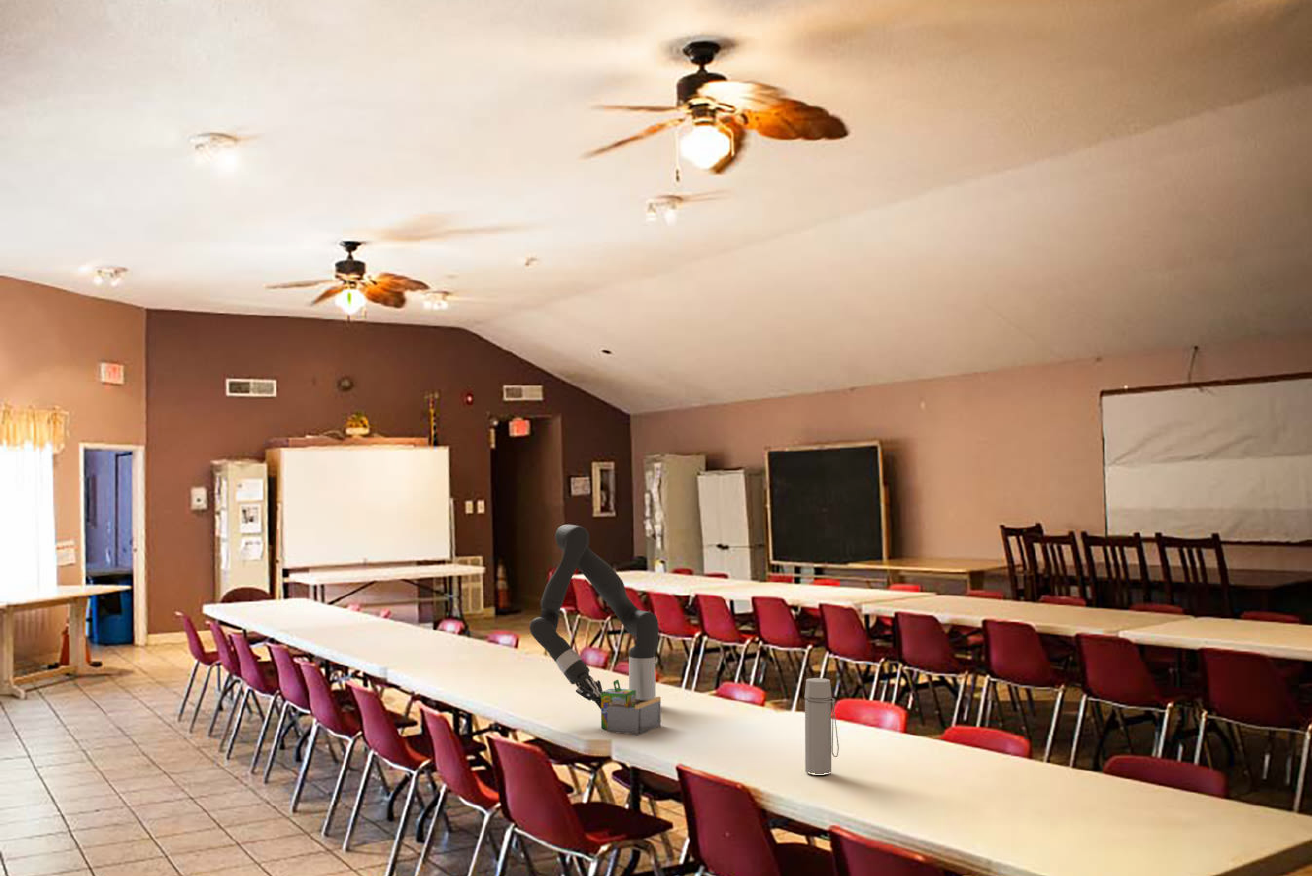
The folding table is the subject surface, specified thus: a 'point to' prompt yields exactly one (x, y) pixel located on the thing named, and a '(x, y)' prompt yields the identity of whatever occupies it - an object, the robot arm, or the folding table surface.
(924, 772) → the folding table surface
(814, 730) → the water bottle
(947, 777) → the folding table surface
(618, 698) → the chalk box
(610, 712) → the grey rectangular box
